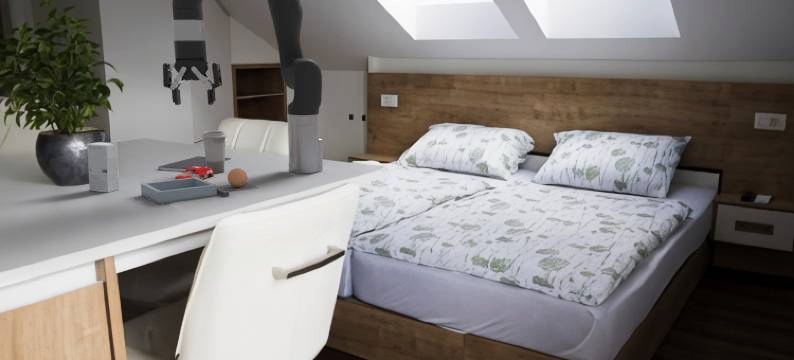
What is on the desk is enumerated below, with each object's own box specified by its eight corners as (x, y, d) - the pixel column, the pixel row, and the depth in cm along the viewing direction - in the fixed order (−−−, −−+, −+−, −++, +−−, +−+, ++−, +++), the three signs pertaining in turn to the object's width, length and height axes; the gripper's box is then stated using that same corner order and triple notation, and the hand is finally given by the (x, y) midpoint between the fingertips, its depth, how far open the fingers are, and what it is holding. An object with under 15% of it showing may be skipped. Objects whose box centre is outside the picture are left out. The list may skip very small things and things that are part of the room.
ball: (242, 184, 170) (241, 165, 169) (250, 187, 166) (250, 168, 165) (224, 186, 167) (223, 167, 166) (232, 189, 163) (232, 170, 162)
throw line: (200, 185, 169) (200, 180, 169) (229, 197, 155) (229, 192, 155) (196, 186, 169) (196, 181, 168) (224, 198, 155) (224, 192, 154)
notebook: (198, 160, 213) (158, 171, 193) (198, 156, 212) (158, 166, 192) (232, 162, 209) (195, 174, 189) (232, 158, 209) (195, 168, 189)
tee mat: (245, 184, 172) (245, 182, 172) (258, 189, 166) (258, 187, 166) (217, 187, 167) (217, 186, 167) (229, 193, 161) (229, 191, 161)
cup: (221, 169, 194) (219, 130, 192) (232, 172, 189) (230, 132, 187) (199, 172, 189) (197, 131, 187) (210, 175, 184) (208, 134, 182)
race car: (187, 187, 169) (186, 172, 168) (170, 185, 171) (169, 171, 170) (217, 178, 181) (216, 164, 181) (201, 176, 183) (201, 163, 182)
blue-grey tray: (196, 188, 166) (196, 177, 165) (216, 197, 156) (216, 185, 156) (141, 195, 157) (140, 183, 157) (159, 205, 148) (158, 192, 147)
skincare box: (88, 191, 162) (84, 144, 159) (101, 187, 166) (98, 141, 164) (108, 193, 160) (104, 145, 158) (121, 189, 164) (117, 142, 162)
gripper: (222, 39, 161) (226, 103, 165) (167, 39, 162) (172, 103, 165) (212, 38, 154) (216, 106, 157) (155, 39, 155) (160, 106, 158)
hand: (194, 104), depth 161 cm, fingers open, 8 cm apart
